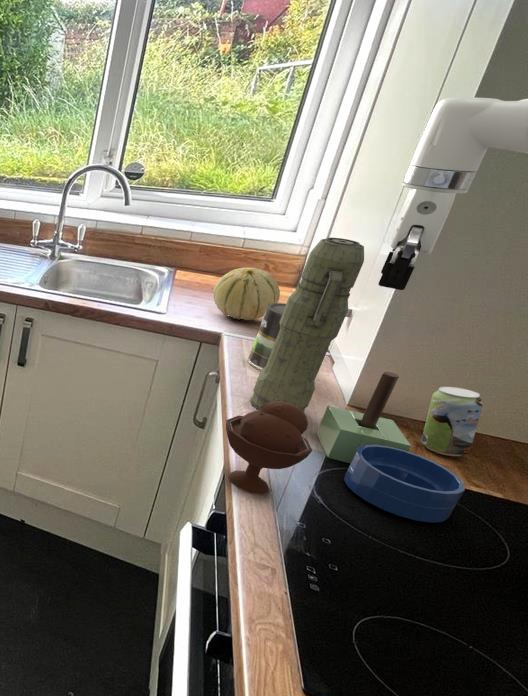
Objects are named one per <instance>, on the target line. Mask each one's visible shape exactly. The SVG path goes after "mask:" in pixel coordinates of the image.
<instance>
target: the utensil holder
mask: <svg viewBox="0 0 528 696" xmlns="http://www.w3.org/2000/svg"><path fill="white" fill-rule="evenodd" d="M363 414H364V412H363V413H362V412H359V411H355V410H354V411H353V410H349V409H345V408H339V407H335V406H331V405H327V407H326V408H325V411H324V413H323V416H322V418H321V421H320V423H319V425H318V426H317V427H318V428H317V430H316V432H315V434H316V436H317V438H318V440H319V442H320V444H321V447H322V448H323V451H324V452H325V455H326V457H327V458H328V459H332V460H335V461H339V462H343V463H347V464H350V463H351V461H352V459H353V457H354V455H355V453H356V451H357V449H358V447H361V446H363V445H382V446H389V447H393V448H397V449H401V450H405V451H408V452H410V449H411V448H412V445H411V443H410V442H409V440H408V439H407V438H406V437H405V435H404V434H403V432H402V430H401V429H400V427H398V425H397V423H395V421H394V420H393V419H389V418H385V417H381V416H380V417H379V420H378V422H377V424H376V426H375V428H374V429H370V428H366V427H361V426H359V423H360V421H361V419H362V416H363Z"/></svg>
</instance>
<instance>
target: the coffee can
mask: <svg viewBox="0 0 528 696" xmlns="http://www.w3.org/2000/svg"><path fill="white" fill-rule="evenodd" d="M286 304H287V303H281V302H278V303H272V304H268V305H267V307H266V312H265V315H264V316H263V317H262V319H261V320H262V321H261V323H260V326H259V329H258V331H257V335H256V337H255V339H254V342H253V345H252V348H251V350H250V353H249V356H248V358H249V360H250V362H251V363H253V364H254V365H256V366H258V367H259V368H258V367H256V366H254V365H253V364H251V363H250V362H249V361H248V360H247V363H248V364H249V365H250V366H251V367H253V368H255V369H256V370H259V371H261V370H262V369H263V368H264V367H265V366H266V364H267V362H268V359H269V357H270V354H271V351H272V349H273V346H274V344H275V341H276V338H277V336H278V333H279V330H280V323H279V322H280V319H281V317H282V314H283V311H284V309H285V306H286ZM260 368H261V369H260Z"/></svg>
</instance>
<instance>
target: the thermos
mask: <svg viewBox="0 0 528 696" xmlns="http://www.w3.org/2000/svg"><path fill="white" fill-rule="evenodd" d="M364 263H365V246H364V244H361V243H360V242H359V241H356V240H352V239H347V238H340V237H326V238H322V239H320V240H319V241H318V243H316V245H315V246H314V247H313V248H312V250H311V251H310V252H309V254H308V257H307V260H306V263H305V264H304V267H303V271H302V273H301V275H300V278H301V279H300V282H298V283H297V286H296V289H295V290H294V291H293V292H292V293H291V294H290V296H289V297H288V299H287V301H286V303H285V304H286V306H285V309H284V311H283V314H282V317H281V319H280V322H279V323H280V330H279V333H278V336H277V338H276V341H275V344H274V346H273V349H272V351H271V354H270V357H269V359H268V362H267V364H266V366H265V367H264V368H263V369H262V370H260V371H259V374H258V376H257V379H256V382H255V384H254V387H253V389H252V390H253V394H252V396H251V397H250V400H249V402H250V404H251V406H253V407H254V408H255V409H256V410H257V411H258V410H259V408H260V406H262V405H264V404H266V403H268V402H273V401H282V402H287V403H290V404H292V405H294V406H296V407H298V408H299V409H300V410H302V411H303V413H304V412H305V410H306V408H308V407H309V405H310V402H311V400H312V398H313V395H314V392H315V390H316V386H315V383H316V382H315V381H316V378H317V376H318V374H319V372H320V370H321V367H322V364H323V362H324V360H325V358H326V356H327V353H328V350H329V348H330V345H331V343H332V341H334V339H336V338H337V337H338V336H339V333H340V330H341V328H342V326H343V323H344V321H345V318H346V316H347V314H348V312H349V298H350V295H351V293H350V292H351V289H353V288H354V286H355V284H356V282H357V279H358V277H359V275H360V272H361V270H362V267H363V264H364ZM304 414H305V413H304Z"/></svg>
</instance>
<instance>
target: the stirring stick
mask: <svg viewBox="0 0 528 696" xmlns="http://www.w3.org/2000/svg"><path fill="white" fill-rule="evenodd" d="M399 378H400V375H398V374H397V373H394V372H391V371H383V372H382V374H381V376H380V379H379V380H378V382H377V385H376V387H375V389H374V390H373V392H372V396H371V398H370V399H369V401H368V403H367V405H366V408H365V410H364V412H363V416H362V419H361V421H360V423H359V426H361V427H366V428H370V429H374V428H375V426H376V424H377V422H378V420H379V417H381V415H382V413H383V411H384V409H385V407H386V405H387V403H388V402H389V400H390V397H391V395H392V393H393V391H394V389H395V386H396V384H397V382H398V380H399Z"/></svg>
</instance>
